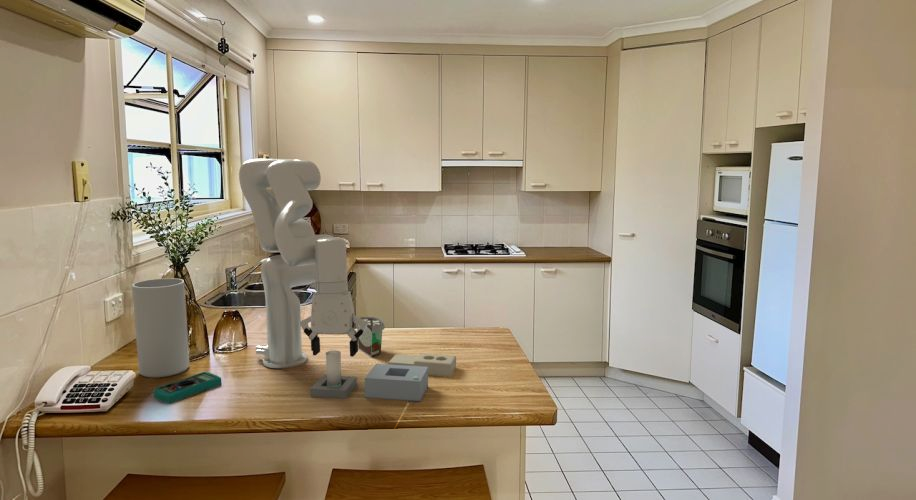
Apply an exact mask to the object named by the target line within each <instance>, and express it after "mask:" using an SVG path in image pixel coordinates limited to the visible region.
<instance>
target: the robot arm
mask: <svg viewBox="0 0 916 500" xmlns="http://www.w3.org/2000/svg"><path fill="white" fill-rule="evenodd" d="M238 170H239V173H238V176H239V177H238V180H239V187H240V189H241V192H242V194H243V196H244V198H245V200H246V203H247V204H248V206H249V209H250V210H251V214H252V219H253V222H254V226H255V227H254V228H255V231H256V236H257V239H258V243H259V245H260V248H261V250H262V251H264V252H266V253H280V254H278V255H273V256H269V257H267V258H265V259H264V260H263V262H262V263H261V265H260V276H261V281H262V285H263V289H264V290H263V291H264V298H265V315H266V319H265V320H266V335H267V336H266V337H267V338H266V339H267V345H266V346H264V345H256V346H255V354H256V355H263V356H264V357H263V358H262V365H264V366H265V367H267V368H271V369H286V368H293V367H296V366H300V365H302V364H304V363H305V362H307V361H308V359H309V358H308V354H307V353H306V352H304V351H303V347H302V346H303V345H302V343H303V342H302V341H303V340H302V330H303V333H304V335H306V336H307V337H308V339H309V341H310V349H311V350H310V351H312V356H317V355H318V354H320V352H321V341H320V340H321V339H320V336H319V335H347V336H348V338H349V339H350V341H349V356H350V357H355V356H356V354H357V353H358V351H359V348H358V338H359V337H360V336H361V335H362V334H363V333H364V331H365V329H366V327H367V325H368V322H366V321H364V320H363V319H361V318H359V317H360V316H357V315H355V309H354V308H355V307H354V302H353V298H352V294H351V292H350V291H349V289H348V285H349V283H348V265H347V263H348V262H347V258H348V257H347V243H346V240H345V239H344V238H342V237H335V236H333V235H331V234H327V233H326V234H315V233H316V232H315V231H314V228H313V226H312V224H311V223H310V222H309V221H308V220H307V219H303V218H304V217H305V216H307V215H308V214H309V213H310V212H311V210H312V209H313V205H314V204H313V199H312V198H311V195H310V193H309V191H315V190H317V189H318V188H319V187H320V185H321V172H320V169H319V167H318V166H317V165H316V164H315V163H314V162H313V161H311V160H304V159H302V160H301V159H293V158H292V159H291V158H289V159H288V158H253V159H249V160H246V161H244V162H243V163H242V164H241V165H240V168H239V169H238ZM267 189H271V191H272V192H270V191H268V190H267ZM308 285H310V287H311V289H315V291H316V292H314V293H313V294H312V295H313V296H312V300H311V312H310V315H309V316H308V317H306V318H304V319H303V320H302V317H301V314H302V313H301V311H302V310H301V302H300V298H299V297H298V296H297V294H296V293H295V292H294V291H293V289H292V288H295V287H300V286H308ZM309 323H310V326H309ZM356 323H357V324H358V325H360V329H359V331H358V332H357V330H356V329H355V327H356V325H357V324H356Z"/></svg>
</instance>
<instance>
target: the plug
mask: <svg viewBox="0 0 916 500" xmlns="http://www.w3.org/2000/svg"><path fill="white" fill-rule="evenodd" d="M341 355H342V352H341V351H340V350H336V349H335V350H329V351H327V352H325V358H326V359H325V361H326V362H325V363H326V364H325V365H326V367H325V368H326V375H327V386H329V387H341V376H342V363H341V362H342V356H341Z"/></svg>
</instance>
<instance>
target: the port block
mask: <svg viewBox="0 0 916 500" xmlns="http://www.w3.org/2000/svg"><path fill="white" fill-rule="evenodd" d="M428 388H429V375H428V367H423V366H406V365H389V363H388V364H385V363H375V364H374V366H373V367H372V368H371V369H370V371H369V372H368V373H367V374H366V375H365V377H364V398H366V399H379V400H394V401H405V402H406V401H407V402H408V403H416V404H417V403H419V404H420V403H421V402H422V401H423V399H424V397H425V394H426V392H427V390H428Z"/></svg>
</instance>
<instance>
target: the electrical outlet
mask: <svg viewBox="0 0 916 500" xmlns="http://www.w3.org/2000/svg"><path fill="white" fill-rule="evenodd" d="M388 364H389V365H406V366H423V367H428V376H438V377H447V378H451V377H452V376H453V375H454V373H455V371H456V369H457V356H456V355H454V354H453V355H451V354H450V355H448V354H437V353H436V354H435V353H419V354H418V355H417V354H402V353H396V354H394V355H393V357H392V358H391V359H390V360H389V361H388Z"/></svg>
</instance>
